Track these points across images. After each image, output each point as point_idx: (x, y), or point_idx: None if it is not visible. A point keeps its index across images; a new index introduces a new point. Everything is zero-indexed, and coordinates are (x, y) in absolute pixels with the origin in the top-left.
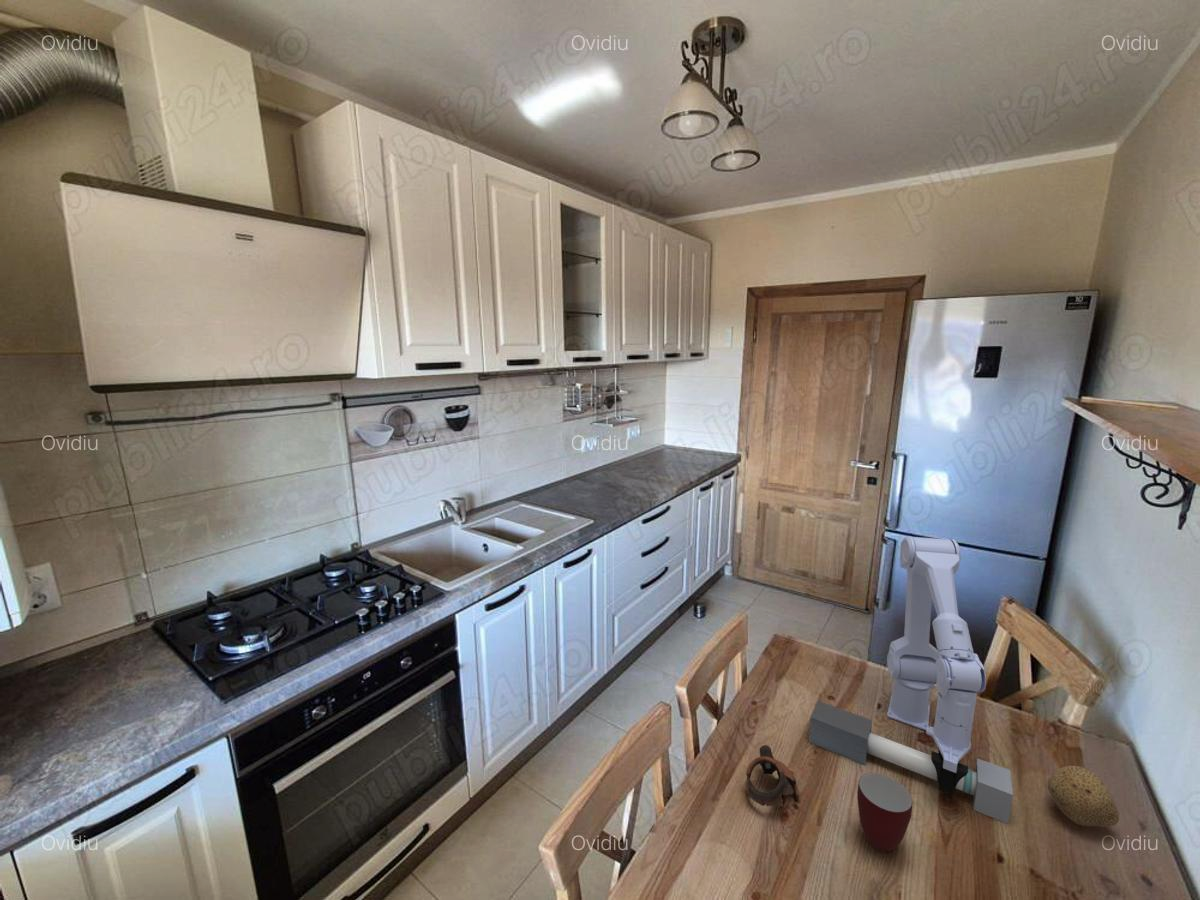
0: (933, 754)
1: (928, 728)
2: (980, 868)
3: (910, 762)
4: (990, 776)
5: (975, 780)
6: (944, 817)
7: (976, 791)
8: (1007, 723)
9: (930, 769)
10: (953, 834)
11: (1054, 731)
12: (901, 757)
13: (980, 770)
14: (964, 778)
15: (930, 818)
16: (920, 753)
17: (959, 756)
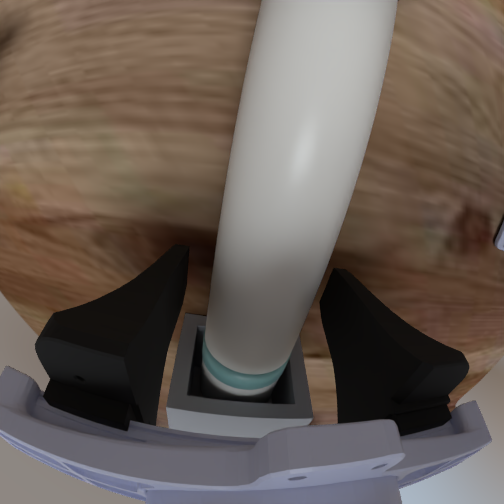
0: (83, 357)
1: (355, 469)
2: (18, 282)
3: (235, 135)
4: (224, 430)
5: (218, 383)
6: (98, 233)
7: (174, 369)
8: (478, 370)
9: (222, 240)
10: (57, 247)
11: (451, 406)
12: (251, 83)
13: (241, 421)
14: (213, 359)
15: (68, 192)
16: (299, 212)
17: (83, 480)
